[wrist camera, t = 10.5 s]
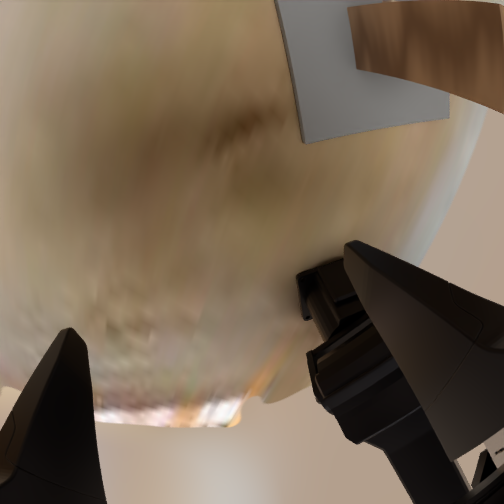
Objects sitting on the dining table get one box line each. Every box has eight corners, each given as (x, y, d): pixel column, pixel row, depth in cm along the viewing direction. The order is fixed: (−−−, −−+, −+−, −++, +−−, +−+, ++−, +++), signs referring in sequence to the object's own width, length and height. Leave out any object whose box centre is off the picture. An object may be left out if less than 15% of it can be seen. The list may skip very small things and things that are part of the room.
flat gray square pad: (444, 116, 21) (449, 118, 21) (302, 141, 20) (305, 144, 20) (428, -33, 12) (433, -34, 12) (261, -47, 12) (264, -50, 11)
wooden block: (406, 66, 17) (545, 113, 8) (356, 69, 17) (503, 114, 8) (399, 7, 14) (544, 21, 5) (346, 4, 14) (498, -2, 5)
